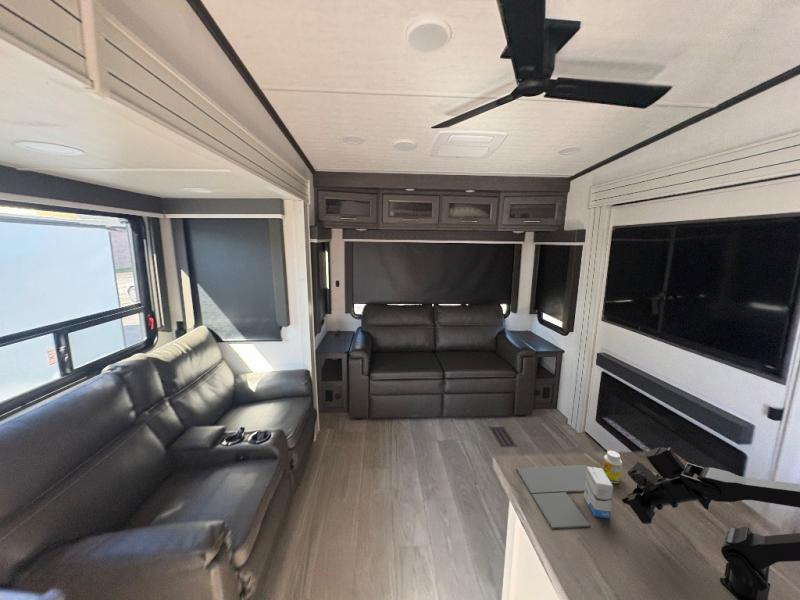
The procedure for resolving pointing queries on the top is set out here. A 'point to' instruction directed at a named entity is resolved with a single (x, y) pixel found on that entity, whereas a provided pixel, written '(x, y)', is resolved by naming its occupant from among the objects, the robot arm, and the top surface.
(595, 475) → the ink box
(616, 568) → the top surface
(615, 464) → the supplement bottle
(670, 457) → the robot arm
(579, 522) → the rubber mat
